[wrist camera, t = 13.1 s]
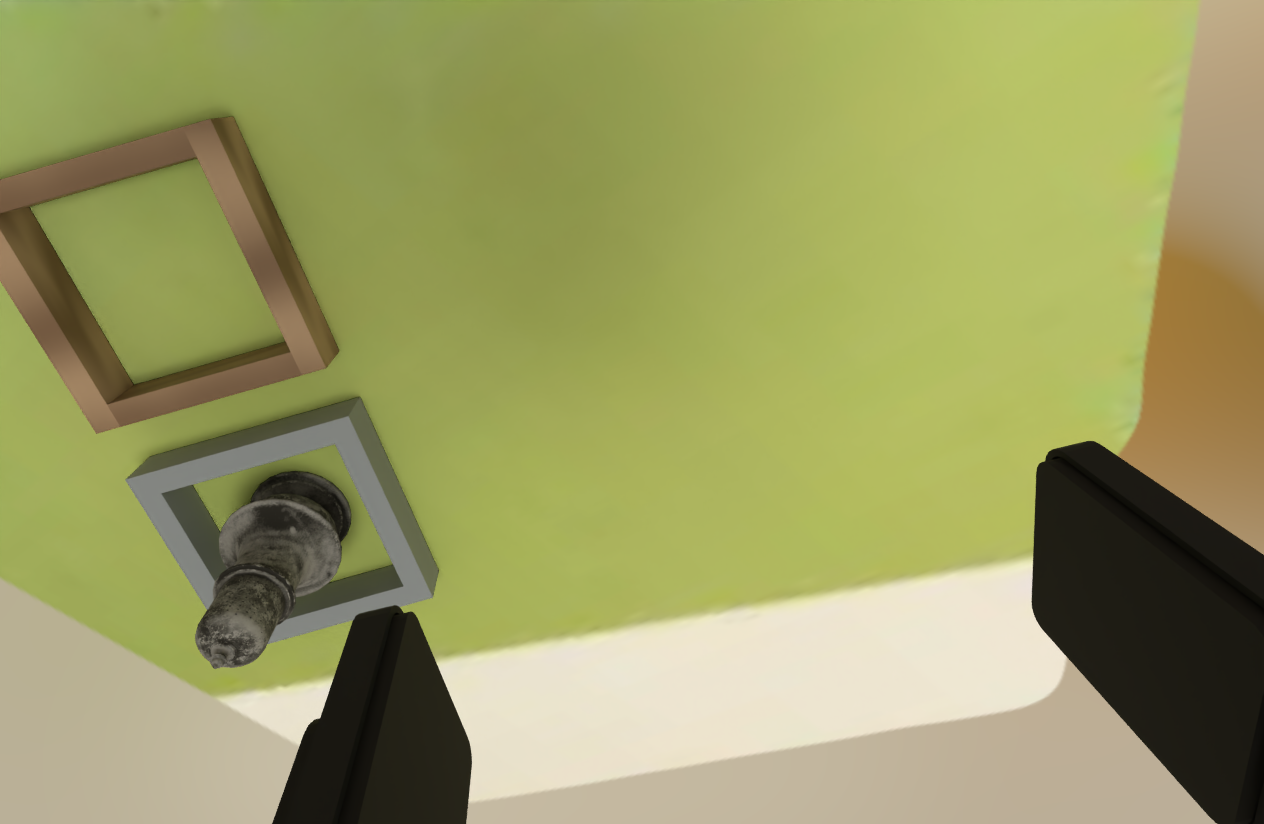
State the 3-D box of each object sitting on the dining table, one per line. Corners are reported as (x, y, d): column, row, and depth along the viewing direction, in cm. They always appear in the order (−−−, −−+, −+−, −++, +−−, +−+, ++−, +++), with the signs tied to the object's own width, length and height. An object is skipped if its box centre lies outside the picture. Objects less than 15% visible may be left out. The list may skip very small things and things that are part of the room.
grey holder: (149, 456, 39) (125, 479, 37) (359, 396, 39) (348, 416, 37) (250, 623, 44) (234, 653, 42) (438, 570, 44) (432, 597, 41)
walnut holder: (-13, 187, 33) (-54, 195, 31) (233, 116, 33) (210, 119, 31) (123, 412, 38) (96, 433, 36) (339, 351, 38) (326, 368, 36)
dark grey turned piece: (290, 575, 43) (204, 743, 32) (220, 498, 40) (101, 651, 30) (378, 528, 42) (321, 683, 31) (312, 447, 40) (225, 584, 29)
